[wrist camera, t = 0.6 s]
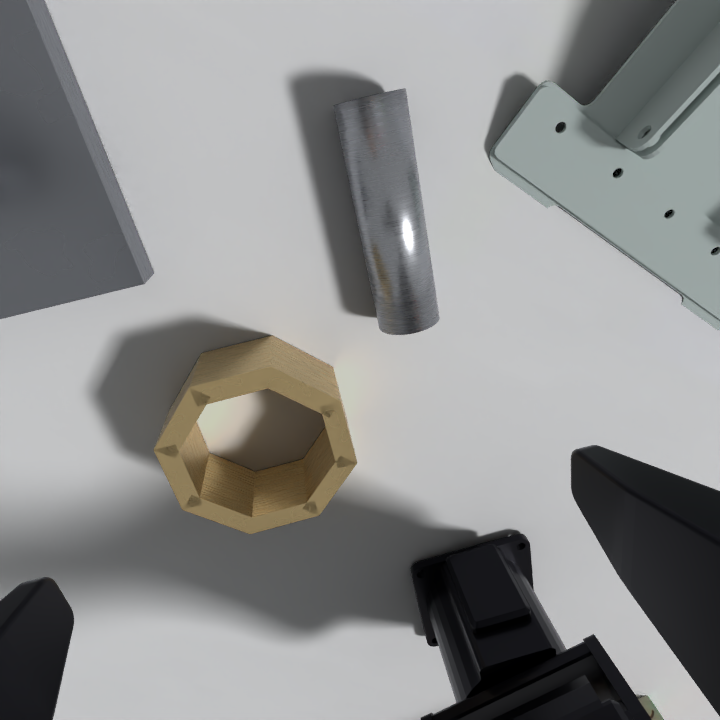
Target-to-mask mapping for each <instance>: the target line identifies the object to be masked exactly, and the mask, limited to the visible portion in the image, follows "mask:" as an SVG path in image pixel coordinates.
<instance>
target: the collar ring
mask: <svg viewBox="0 0 720 720" xmlns="http://www.w3.org/2000/svg"><path fill="white" fill-rule="evenodd" d="M264 389H270V390H273V391H275V392H277V393H279V394H281V395H283V396H285V397H287V398H289V399H291V400H293V401H296V402H298V403H300V404H302V405H304V406H306V407H308V408H310V409H312V410H314V411H317V412H319V413H321V414H322V416H323V419H324V423H325V428H324V429H323V431H322V432H321V434H320V435H319V437H318V438H317V440H316V441H315V442H314V444H313V445H312V447H311V448H310V450H309V451H308V453H307V454H306V456H305V457H304V459H302V460H298V461H294V462H290V463H287V464H283V465H279V466H275V467H272V468H268V469H264V470H260V471H256V472H255V471H252V470H250V469H247V468H245V467H242V466H240V465H238V464H235V463H233V462H230V461H228V460H225V459H223V458H220V457H218V456H216V455H213V454H211V453H209V450H208V448H207V446H206V443H205V441H204V439H203V436H202V434H201V431H200V429H199V427H198V424H197V422H196V421H197V419H198V418H199V416H200V414H201V413H202V411H203V409H204V408H205V406H206V404H210V403H213V402H217V401H221V400H225V399H229V398H233V397H237V396H241V395H245V394H248V393H252V392H256V391H260V390H264ZM154 452H155V454H156V456H157V458H158V460H159V463H160V465H161V467H162V469H163V471H164V473H165V475H166V477H167V479H168V481H169V483H170V485H171V487H172V489H173V492H174V494H175V496H176V498H177V500H178V502H179V504H180V506H181V508H182V510H184V511H187V512H190V513H192V514H195V515H198V516H201V517H203V518H206V519H209V520H212V521H215V522H217V523H220V524H223V525H226V526H228V527H231V528H234V529H237V530H240V531H242V532H245V533H248V534H253V533H257V532H260V531H264V530H268V529H271V528H275V527H279V526H282V525H286V524H290V523H294V522H297V521H301V520H305V519H308V518H312V517H316V516H319V515H320V514H321V512H322V511H323V510H324V508H325V507H326V505H327V504H328V503H329V501H330V500H331V499H332V497H333V496H334V494H335V493H336V492H337V490H338V489H339V488H340V486H341V485H342V483H343V482H344V481H345V479H346V478H347V477H348V475H349V474H350V472H351V471H352V470H353V468H354V467H355V466H356V464H357V460H356V456H355V452H354V448H353V444H352V439H351V435H350V431H349V427H348V423H347V419H346V415H345V411H344V408H343V404H342V400H341V396H340V392H339V389H338V385H337V381H336V377H335V373H334V369H333V367H332V366H330V365H328V364H326V363H324V362H322V361H320V360H318V359H316V358H315V357H313V356H311V355H309V354H307V353H305V352H303V351H301V350H299V349H297V348H295V347H293V346H291V345H290V344H288V343H286V342H284V341H282V340H280V339H278V338H276V337H274V336H268V337H264V338H260V339H256V340H252V341H248V342H244V343H240V344H236V345H232V346H228V347H224V348H220V349H216V350H212V351H208V352H204V353H201V355H200V357H199V358H198V360H197V362H196V364H195V366H194V367H193V369H192V371H191V373H190V374H189V376H188V378H187V380H186V382H185V383H184V385H183V387H182V389H181V390H180V392H179V394H178V396H177V397H176V399H175V401H174V403H173V405H172V406H171V408H170V410H169V413H168V415H167V418H166V420H165V423H164V425H163V428H162V430H161V433H160V435H159V438H158V440H157V442H156V445H155V447H154Z"/></svg>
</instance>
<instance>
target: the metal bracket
mask: <svg viewBox="0 0 720 720" xmlns="http://www.w3.org/2000/svg"><path fill="white" fill-rule="evenodd" d="M560 122H564V123H565V127H564V129H563V130H562V131H561V132H556V131H555V127H556V126H557V124H558V123H560ZM489 157H490V161H491V163H492V165H493V168H494V170H495V171H496V172H498V173H499V174H500V175H502V176H503V177H505V178H506V179H507V180H509V181H510V182H512V183H513V184H514V185H516V186H517V187H519V188H520V189H521V190H523V191H524V192H526V193H527V194H528V195H530V196H531V197H532V198H534V199H535V200H537V201H538V202H539V203H541V204H542V205H544V206H545V207H546V208H548V207H550V206H553V205H556V206H559V207H560V208H562V209H563V210H565V211H566V212H567V213H569V214H570V215H572V216H573V217H574V218H576V219H577V220H578V221H580V222H581V223H583V224H584V225H585V226H587V227H588V228H590V229H591V230H592V231H594V232H595V233H596V234H598V235H599V236H601V237H602V238H603V239H605V240H606V241H608V242H609V243H610V244H612V245H613V246H614V247H616V248H617V249H619V250H620V251H621V252H623V253H624V254H626V255H627V256H628V257H630V258H631V259H633V260H634V261H635V262H637V263H638V264H639V265H641V266H642V267H644V268H645V269H646V270H648V271H649V272H651V273H652V274H653V275H655V276H656V277H657V278H659V279H660V280H662V281H663V282H664V283H666V284H667V285H669V286H670V287H671V288H673V289H674V290H675V291H677V292H678V293H680V294H681V295H682V296H683V302H682V303H681V304H682V305H683V306H684V307H686V308H687V309H689V310H690V311H691V312H693V313H694V314H696V315H697V316H698V317H700V318H701V319H703V320H704V321H705V322H707V323H708V324H710V325H711V326H712V327H714V328H715V329H717V330H720V0H676V1H675V3H674V4H673V5H672V6H671V7H670V9H669V10H668V11H667V12H666V14H665V15H664V16H663V17H662V18H661V20H660V21H659V22H658V23H657V24H656V26H655V27H654V28H653V29H652V30H651V32H650V33H649V34H648V35H647V37H646V38H645V39H644V40H643V41H642V43H641V44H640V45H639V46H638V47H637V49H636V50H635V51H634V52H633V54H632V55H631V56H630V57H629V58H628V60H627V61H626V62H625V63H624V64H623V66H622V67H621V68H620V69H619V71H618V72H617V73H616V74H615V75H614V77H613V78H612V79H611V80H610V81H609V83H608V84H607V85H606V86H605V88H604V89H603V90H602V91H601V92H600V94H599V95H598V96H597V97H596V98H595V100H594V101H592V102H591V103H590V104H588V105H581V104H579V103H578V102H577V101H576V100H574V99H573V98H572V97H571V96H570V95H568V94H567V93H566V92H565V91H564V90H562V89H561V88H560V87H559V86H558V85H556V84H555V83H554V82H552V81H544V82H542V83H541V84H540V85H539V86H538V87H537V88H536V90H535V91H534V92H533V94H532V95H531V96H530V98H529V99H528V100H527V102H526V103H525V104H524V106H523V107H522V108H521V110H520V111H519V112H518V114H517V115H516V116H515V118H514V119H513V120H512V122H511V123H510V124H509V126H508V127H507V128H506V130H505V131H504V132H503V134H502V135H501V136H500V138H499V139H498V140H497V142H496V143H495V144H494V146H493V147H492V149H491V151H490V156H489ZM617 168H621V173H620V175H618V176H617V177H613V172H614V171H615V170H616V169H617ZM671 209H672V213H671V215H670V216H668V217H664V215H665V213H666V212H667V211H668V210H671ZM715 247H719V248H718V250H717V251H716V252H715V253H712V254H711V251H712V250H713V249H714V248H715Z"/></svg>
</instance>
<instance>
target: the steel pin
mask: <svg viewBox="0 0 720 720" xmlns="http://www.w3.org/2000/svg"><path fill="white" fill-rule="evenodd" d="M333 107H334V111H335V116H336V121H337V126H338V131H339V136H340V140H341V145H342V150H343V155H344V160H345V165H346V169H347V174H348V179H349V184H350V189H351V194H352V198H353V203H354V208H355V213H356V218H357V222H358V227H359V232H360V237H361V242H362V247H363V251H364V256H365V261H366V266H367V271H368V276H369V280H370V285H371V290H372V295H373V300H374V305H375V309H376V314H377V319H378V324H379V328H380V330H381V331H382V332H384V333H387V334H392V335H405V334H412V333H416V332H420V331H423V330H426V329H428V328H430V327H432V326H433V325H435V324H436V323H437V322H438V321H439V311H438V304H437V297H436V290H435V284H434V277H433V270H432V263H431V257H430V250H429V243H428V236H427V229H426V223H425V216H424V209H423V202H422V196H421V189H420V182H419V175H418V168H417V162H416V155H415V148H414V141H413V135H412V128H411V121H410V114H409V107H408V101H407V94H406V89H400V90H394V91H390V92H385V93H380V94H376V95H372V96H368V97H363V98H359V99H355V100H352V101H348V102H344V103H341V104H337V105H334V106H333Z"/></svg>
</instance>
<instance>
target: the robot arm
mask: <svg viewBox="0 0 720 720" xmlns="http://www.w3.org/2000/svg"><path fill="white" fill-rule="evenodd" d="M571 490H572V494H573V497H574V499H575V501H576V503H577V505H578V507H579V508H580V510H581V512H582V514H583V515H584V517H585V519H586V521H587V522H588V524H589V526H590V527H591V529H592V531H593V533H594V534H595V536H596V538H597V540H598V541H599V543H600V545H601V546H602V548H603V550H604V552H605V553H606V555H607V557H608V559H609V560H610V562H611V564H612V565H613V567H614V569H615V570H616V572H617V574H618V575H619V577H620V579H621V580H622V581H623V583H624V584H625V586H626V587H627V589H628V590H629V592H630V593H631V594H632V596H633V597H634V599H635V600H636V601H637V603H638V604H639V606H640V607H641V608H642V610H643V611H644V612H645V614H646V615H647V617H648V618H649V619H650V621H651V622H652V623H653V625H654V626H655V628H656V629H657V630H658V632H659V633H660V635H661V636H662V637H663V639H664V640H665V641H666V643H667V644H668V646H669V647H670V648H671V650H672V651H673V652H674V654H675V655H676V657H677V658H678V659H679V661H680V662H681V664H682V665H683V666H684V668H685V669H686V670H687V672H688V673H689V675H690V676H691V677H692V679H693V680H694V682H695V683H696V684H697V686H698V687H699V688H700V690H701V691H702V693H703V694H704V695H705V697H706V698H707V699H708V701H709V702H710V704H711V705H712V706H713V708H714V709H715V711H716V712H717V713H718V715H719V716H720V491H718V490H715V489H713V488H710V487H707V486H705V485H702V484H699V483H697V482H694V481H691V480H689V479H686V478H683V477H681V476H678V475H675V474H673V473H670V472H667V471H665V470H662V469H659V468H657V467H654V466H651V465H649V464H646V463H643V462H641V461H638V460H635V459H633V458H630V457H627V456H625V455H622V454H619V453H617V452H614V451H611V450H609V449H606V448H603V447H601V446H597V445H592V446H588V447H583V448H579V449H576V450H574V451H573V452H572V455H571ZM410 571H411V575H412V580H413V584H414V588H415V593H416V597H417V601H418V606H419V610H420V614H421V619H422V623H423V627H424V632H425V636H426V639H427V643H428V645H430V646H439V648H440V651H441V655H442V658H443V661H444V664H445V667H446V670H447V674H448V677H449V680H450V683H451V686H452V690H453V693H454V696H455V699H456V702H457V703H456V704H454V705H452V706H450V707H448V708H446V709H443V710H441V711H439V712H437V713H435V714H433V713H430V714H428V715H426V716H424V717H421V720H652V719H651V718H650V716H649V715H648V713H647V712H646V710H645V709H644V707H643V706H642V704H641V703H640V701H639V700H638V698H637V697H636V695H635V694H634V692H633V691H632V690H631V688H630V687H629V685H628V684H627V682H626V681H625V679H624V678H623V676H622V675H621V673H620V672H619V670H618V669H617V667H616V666H615V665H614V663H613V662H612V660H611V659H610V657H609V656H608V654H607V653H606V651H605V650H604V648H603V647H602V645H601V644H600V642H599V641H598V640H597V638H596V637H595V635H594V634H593V635H591V636H589V637H587V638H585V639H583V641H584V642H582V643H580V644H578V645H576V646H574V647H572V648H570V649H568V650H567V649H566V648H565V646H564V644H563V642H562V641H561V639H560V637H559V635H558V633H557V632H556V630H555V628H554V626H553V625H552V623H551V621H550V619H549V618H548V616H547V614H546V612H545V610H544V609H543V607H542V605H541V603H540V602H539V600H538V598H537V596H536V594H535V593H534V590H533V577H532V564H531V551H530V543H529V541H528V539H527V537H526V536H525V535H524V534H516V535H512V536H509V537H505V538H501V539H498V540H494V541H491V542H487V543H484V544H480V545H476V546H473V547H469V548H466V549H462V550H458V551H455V552H451V553H448V554H444V555H441V556H437V557H433V558H430V559H426V560H423V561H419V562H416V563H414V564H413V565H412V567H411V570H410ZM420 571H421V572H420ZM73 625H74V615H73V611H72V609H71V607H70V605H69V604H68V602H67V600H66V599H65V597H64V595H63V594H62V592H61V590H60V589H59V587H58V585H57V584H56V582H55V581H54V580H53V579H51V578H49V577H43V578H39V579H35V580H31V581H27V582H24V583H22V584H20V585H19V586H17V587H16V588H15V589H14V590H13V591H11V592H10V593H9V594H8V595H7V596H5V597H4V598H3V599H2V600H1V601H0V720H53V716H54V712H55V708H56V704H57V699H58V694H59V690H60V685H61V681H62V676H63V672H64V667H65V662H66V658H67V653H68V649H69V644H70V640H71V635H72V630H73Z"/></svg>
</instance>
